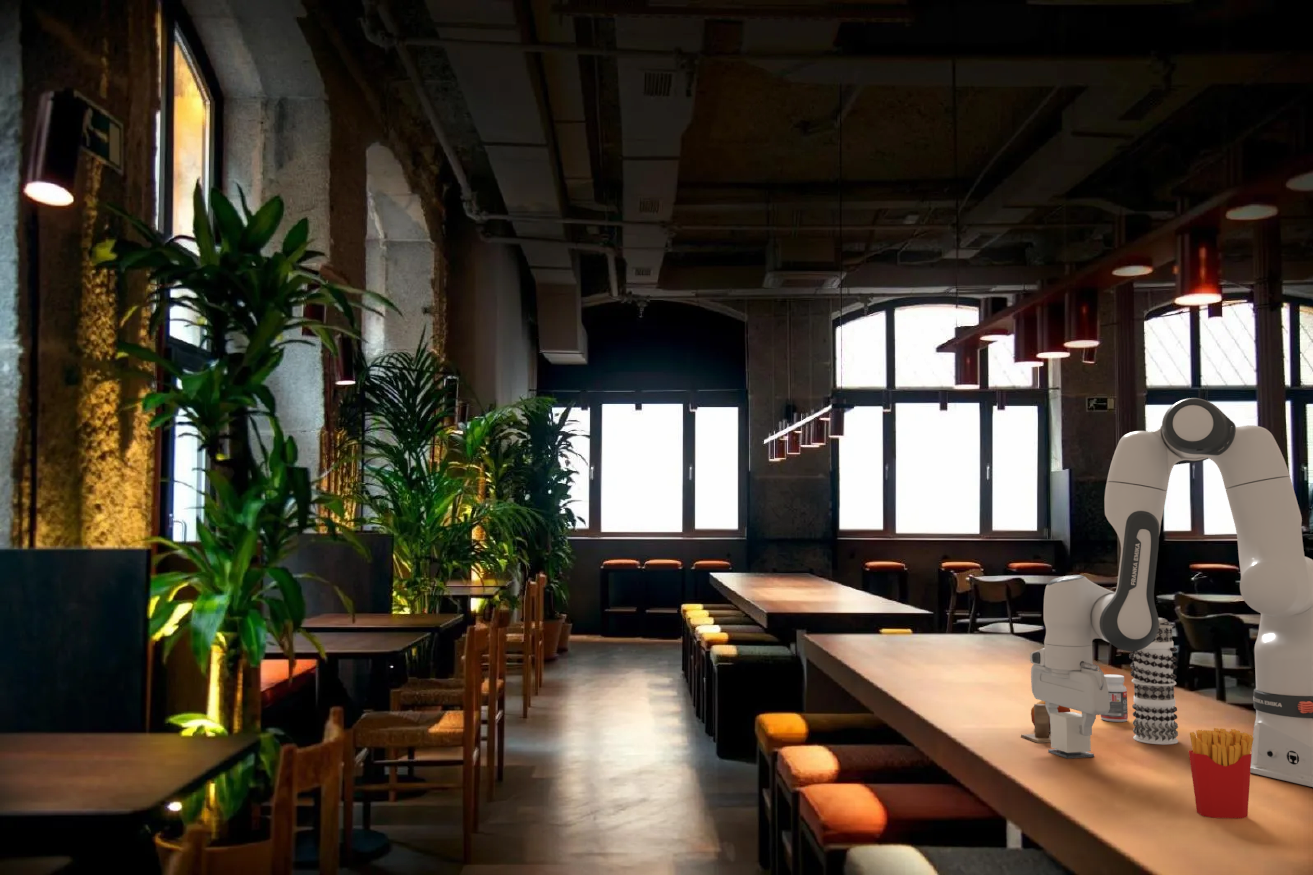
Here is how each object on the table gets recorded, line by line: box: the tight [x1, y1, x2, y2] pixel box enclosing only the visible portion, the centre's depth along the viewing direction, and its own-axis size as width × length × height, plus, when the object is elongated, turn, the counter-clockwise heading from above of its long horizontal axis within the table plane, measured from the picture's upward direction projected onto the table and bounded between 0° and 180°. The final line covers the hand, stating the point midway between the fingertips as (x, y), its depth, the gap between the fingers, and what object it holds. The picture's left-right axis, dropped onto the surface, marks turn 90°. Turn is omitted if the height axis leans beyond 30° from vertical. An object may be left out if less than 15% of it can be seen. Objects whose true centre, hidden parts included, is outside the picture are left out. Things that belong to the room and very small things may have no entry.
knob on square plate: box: [1020, 703, 1051, 744], centre depth 228 cm, size 6×6×7 cm
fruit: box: [1030, 700, 1071, 733], centre depth 237 cm, size 8×8×8 cm
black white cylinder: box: [1128, 617, 1179, 745], centre depth 228 cm, size 9×9×25 cm
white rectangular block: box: [1050, 711, 1092, 753], centre depth 214 cm, size 5×5×7 cm
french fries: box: [1188, 727, 1254, 819], centre depth 172 cm, size 9×4×13 cm, turn 85°
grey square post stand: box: [1047, 748, 1095, 760], centre depth 214 cm, size 6×6×7 cm
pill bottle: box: [1100, 673, 1129, 723], centre depth 249 cm, size 6×6×10 cm
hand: (1070, 730), depth 214 cm, fingers open, 8 cm apart
